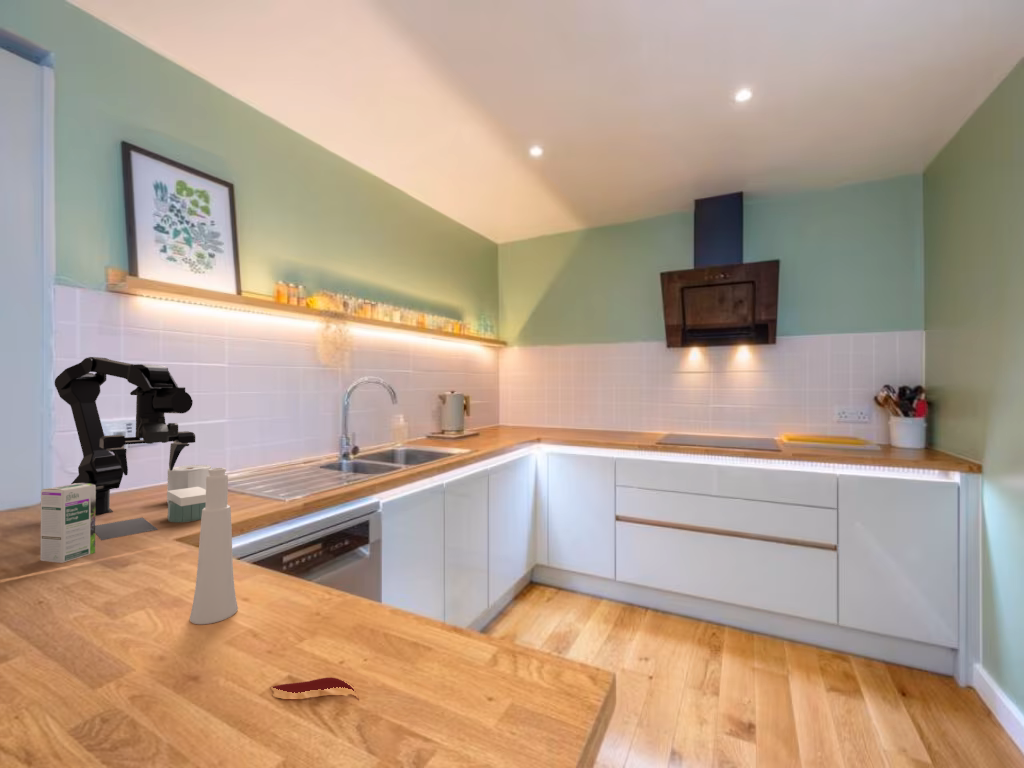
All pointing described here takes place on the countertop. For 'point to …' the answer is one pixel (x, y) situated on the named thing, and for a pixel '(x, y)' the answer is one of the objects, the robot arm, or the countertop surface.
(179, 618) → the countertop surface
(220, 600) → the cosmetic bottle
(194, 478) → the toilet tissue
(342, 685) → the cayenne pepper
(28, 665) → the countertop surface
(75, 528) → the syrup box
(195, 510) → the bowl
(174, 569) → the countertop surface
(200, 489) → the white rectangular block
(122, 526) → the mat
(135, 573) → the countertop surface
